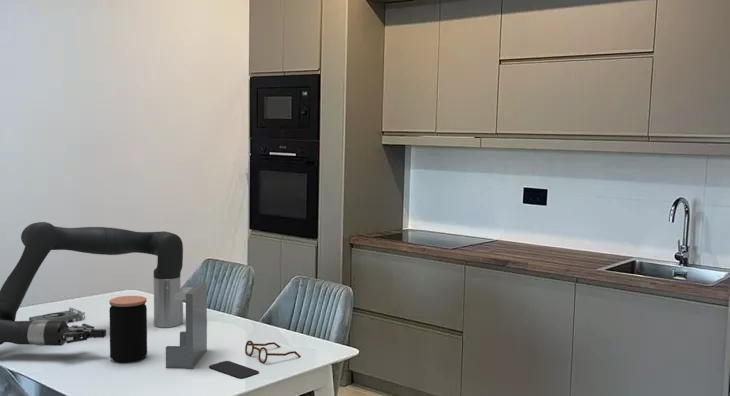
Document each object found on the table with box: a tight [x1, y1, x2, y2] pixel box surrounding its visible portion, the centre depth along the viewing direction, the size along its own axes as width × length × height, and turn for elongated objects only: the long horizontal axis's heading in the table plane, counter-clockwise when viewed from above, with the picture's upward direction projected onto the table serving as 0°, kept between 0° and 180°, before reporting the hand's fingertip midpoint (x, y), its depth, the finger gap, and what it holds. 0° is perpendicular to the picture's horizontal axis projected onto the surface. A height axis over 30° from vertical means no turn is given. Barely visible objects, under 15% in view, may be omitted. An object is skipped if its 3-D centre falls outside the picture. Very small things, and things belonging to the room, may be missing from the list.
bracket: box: [165, 280, 208, 370], centre depth 206 cm, size 8×18×22 cm, turn 0°
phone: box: [208, 360, 260, 380], centre depth 198 cm, size 7×1×15 cm
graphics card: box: [28, 307, 86, 324], centre depth 248 cm, size 17×4×12 cm
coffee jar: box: [109, 295, 148, 364], centre depth 206 cm, size 11×11×18 cm
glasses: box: [244, 340, 302, 364], centre depth 212 cm, size 13×13×5 cm
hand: (105, 333), depth 207 cm, fingers closed
